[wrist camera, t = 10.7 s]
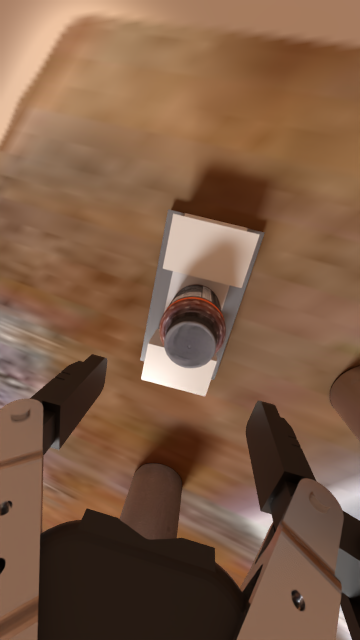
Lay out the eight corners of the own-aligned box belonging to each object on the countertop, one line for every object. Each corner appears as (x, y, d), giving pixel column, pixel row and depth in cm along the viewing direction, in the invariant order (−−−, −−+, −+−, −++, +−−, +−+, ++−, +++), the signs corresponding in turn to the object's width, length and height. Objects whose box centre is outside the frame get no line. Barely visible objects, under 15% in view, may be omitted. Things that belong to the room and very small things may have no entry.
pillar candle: (186, 497, 42) (176, 624, 28) (139, 497, 43) (107, 617, 29) (177, 461, 39) (161, 582, 25) (127, 462, 40) (86, 577, 26)
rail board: (213, 373, 32) (215, 404, 26) (143, 355, 32) (128, 381, 26) (261, 233, 25) (279, 229, 19) (170, 211, 25) (158, 200, 19)
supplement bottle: (219, 329, 27) (228, 383, 17) (173, 328, 28) (153, 379, 17) (220, 282, 25) (231, 309, 15) (171, 283, 26) (147, 309, 15)
